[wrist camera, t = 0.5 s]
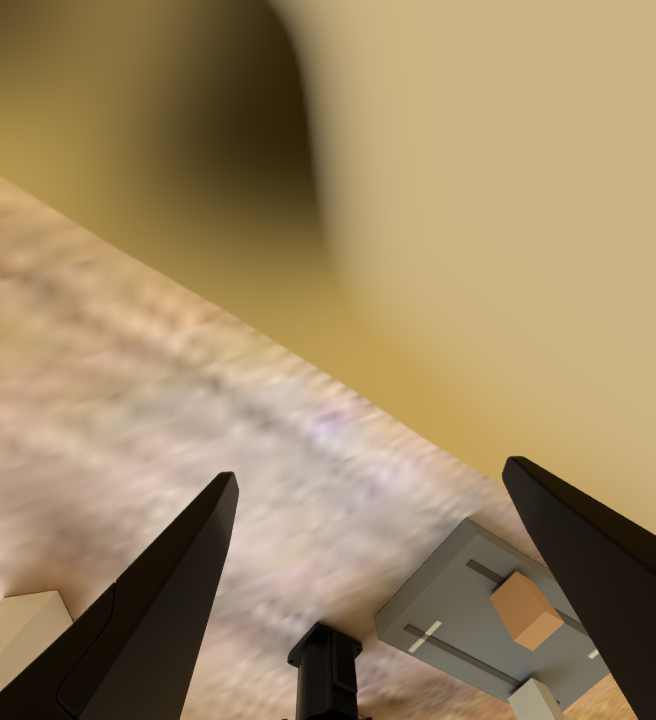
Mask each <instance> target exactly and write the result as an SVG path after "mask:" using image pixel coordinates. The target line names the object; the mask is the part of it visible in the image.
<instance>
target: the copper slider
mask: <svg viewBox="0 0 656 720" xmlns="http://www.w3.org/2000/svg"><path fill="white" fill-rule="evenodd" d="M489 598H490V600H491V602H492V603H493V605H494V607H495V609H496V610H497V612H498V614H499V616H500V617H501V619H502V621H503V623H504V625H505V626H506V628H507V630H508V632H509V633H510V635H511V637H512V639H513V640H514V641H515V642H517V643H519V644H521V645H523V646H524V647H526V648H528V649H530V650H532V651H534V650H535V649H536V648H537V647H538V646H539V645H540V644H541V643H542V642H544V641H545V640H546V639H547V638H548V637H549V636H550V635H551V634H552V633H553V632H555V631H556V630H557V629H558V628H559V627H560V626H561V625H562V624H563V623H565V622H564V621H563V620H562V618H561V617H560V616H559V615H558V613H557V612H556V611H555V609H554V608H553V607H552V605H551V604H550V603H549V601H548V600H547V599H546V597H545V596H544V595H543V593H542V592H541V591H540V590H539V588H538V587H537V586H536V584H535V583H534V582H533V581H532V580H530V579H529V578H527V577H525V576H524V575H522V574H520V573H519V572H517V571H516V572H515V573H514V574H513V575H512V576H511V577H510V578H509V579H508V580H507V581H506V582H505V583H504V584H503V585H502V586H501V587H499V588H498V589H497V590H496V591H495V592H494V593H493V594H492V595H491V596H490V597H489Z"/></svg>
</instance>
